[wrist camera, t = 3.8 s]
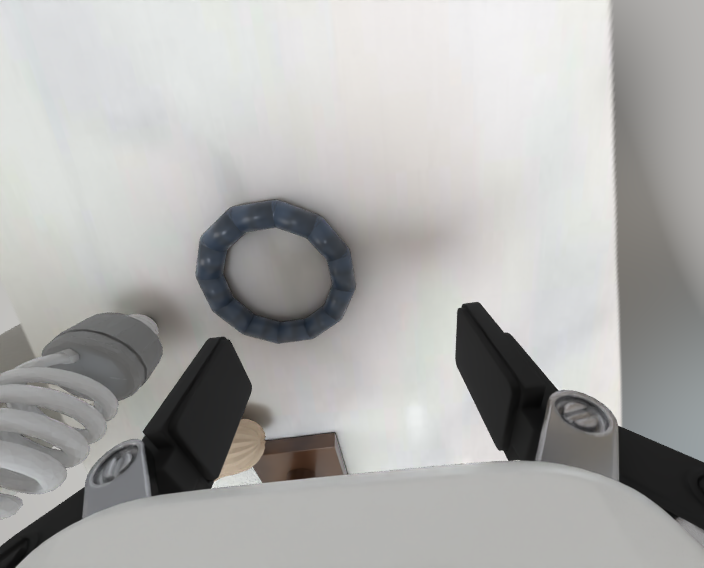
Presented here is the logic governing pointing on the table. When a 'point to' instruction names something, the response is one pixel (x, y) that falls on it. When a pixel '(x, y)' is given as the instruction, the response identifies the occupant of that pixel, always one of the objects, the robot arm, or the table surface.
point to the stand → (300, 458)
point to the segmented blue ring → (294, 222)
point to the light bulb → (70, 399)
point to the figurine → (244, 448)
